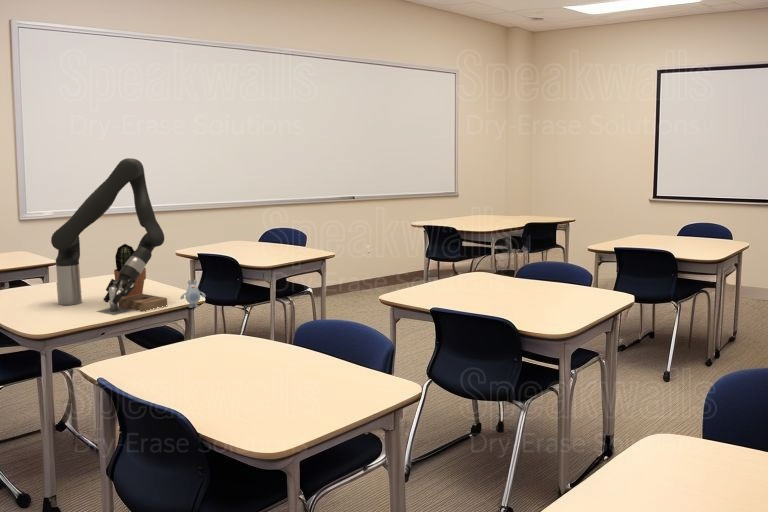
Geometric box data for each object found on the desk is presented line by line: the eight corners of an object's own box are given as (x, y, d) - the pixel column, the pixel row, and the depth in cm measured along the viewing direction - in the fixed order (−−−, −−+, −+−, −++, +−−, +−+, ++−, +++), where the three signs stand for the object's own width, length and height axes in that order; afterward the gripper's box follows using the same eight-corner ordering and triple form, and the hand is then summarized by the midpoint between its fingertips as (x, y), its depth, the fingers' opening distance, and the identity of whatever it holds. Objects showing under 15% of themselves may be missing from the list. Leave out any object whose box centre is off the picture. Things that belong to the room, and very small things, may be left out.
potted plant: (148, 299, 311) (145, 244, 307) (116, 301, 305) (113, 246, 301) (146, 293, 323) (142, 240, 319) (115, 295, 317) (111, 242, 313)
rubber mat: (95, 312, 286) (95, 311, 286) (114, 308, 293) (114, 307, 293) (113, 316, 279) (113, 315, 279) (132, 311, 287) (132, 310, 286)
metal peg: (108, 311, 286) (107, 287, 284) (115, 309, 288) (113, 286, 287) (113, 312, 284) (111, 288, 282) (119, 310, 286) (118, 287, 285)
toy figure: (181, 310, 290) (180, 282, 288) (179, 307, 295) (178, 279, 293) (207, 307, 294) (206, 280, 292) (204, 304, 299) (203, 277, 298)
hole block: (118, 307, 294) (117, 298, 293) (142, 302, 304) (141, 293, 303) (144, 312, 285) (143, 303, 284) (167, 307, 295) (167, 298, 294)
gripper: (116, 262, 293) (92, 295, 285) (137, 265, 285) (114, 299, 277) (127, 272, 298) (105, 305, 290) (149, 276, 291) (126, 309, 283)
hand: (109, 302), depth 284 cm, fingers open, 5 cm apart
